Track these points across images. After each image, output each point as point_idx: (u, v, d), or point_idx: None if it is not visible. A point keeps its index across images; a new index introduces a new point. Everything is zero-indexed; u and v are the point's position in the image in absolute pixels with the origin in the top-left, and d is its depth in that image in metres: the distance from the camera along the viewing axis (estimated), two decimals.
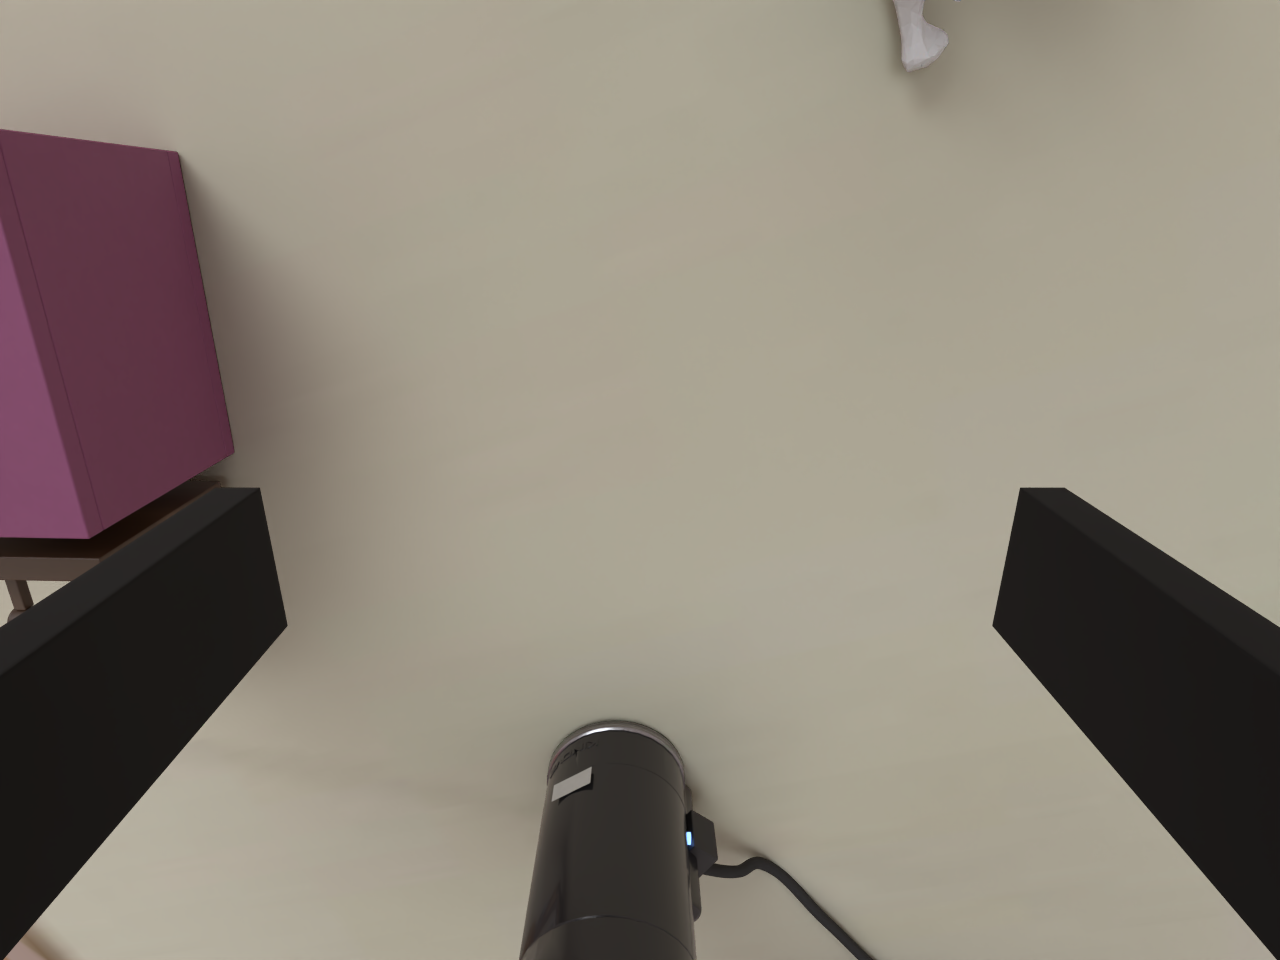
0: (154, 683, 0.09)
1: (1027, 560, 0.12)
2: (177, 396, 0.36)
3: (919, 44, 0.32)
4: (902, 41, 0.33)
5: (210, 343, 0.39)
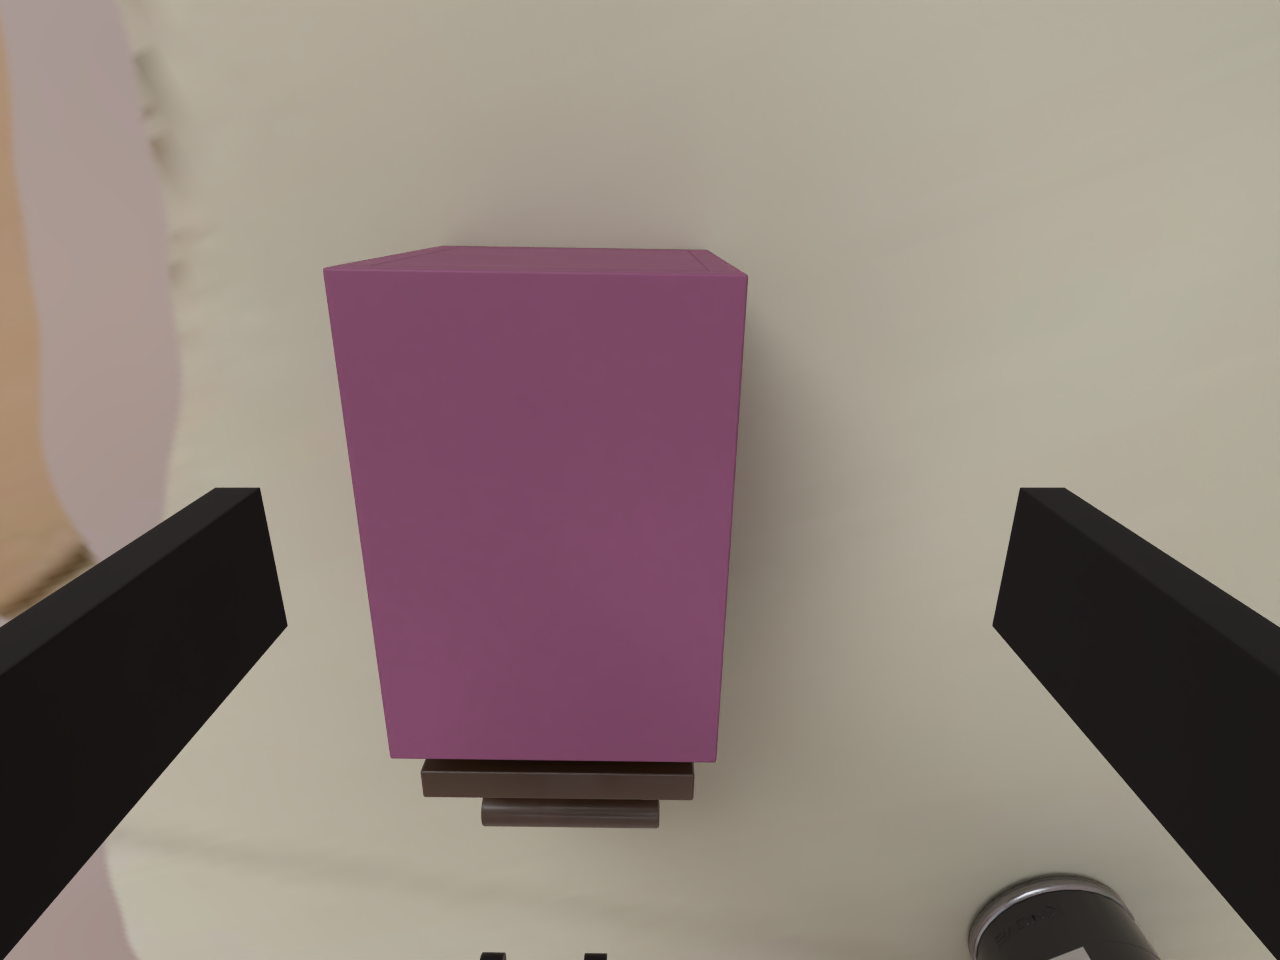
0: (154, 683, 0.09)
1: (1027, 561, 0.12)
2: None
3: None
4: None
5: None
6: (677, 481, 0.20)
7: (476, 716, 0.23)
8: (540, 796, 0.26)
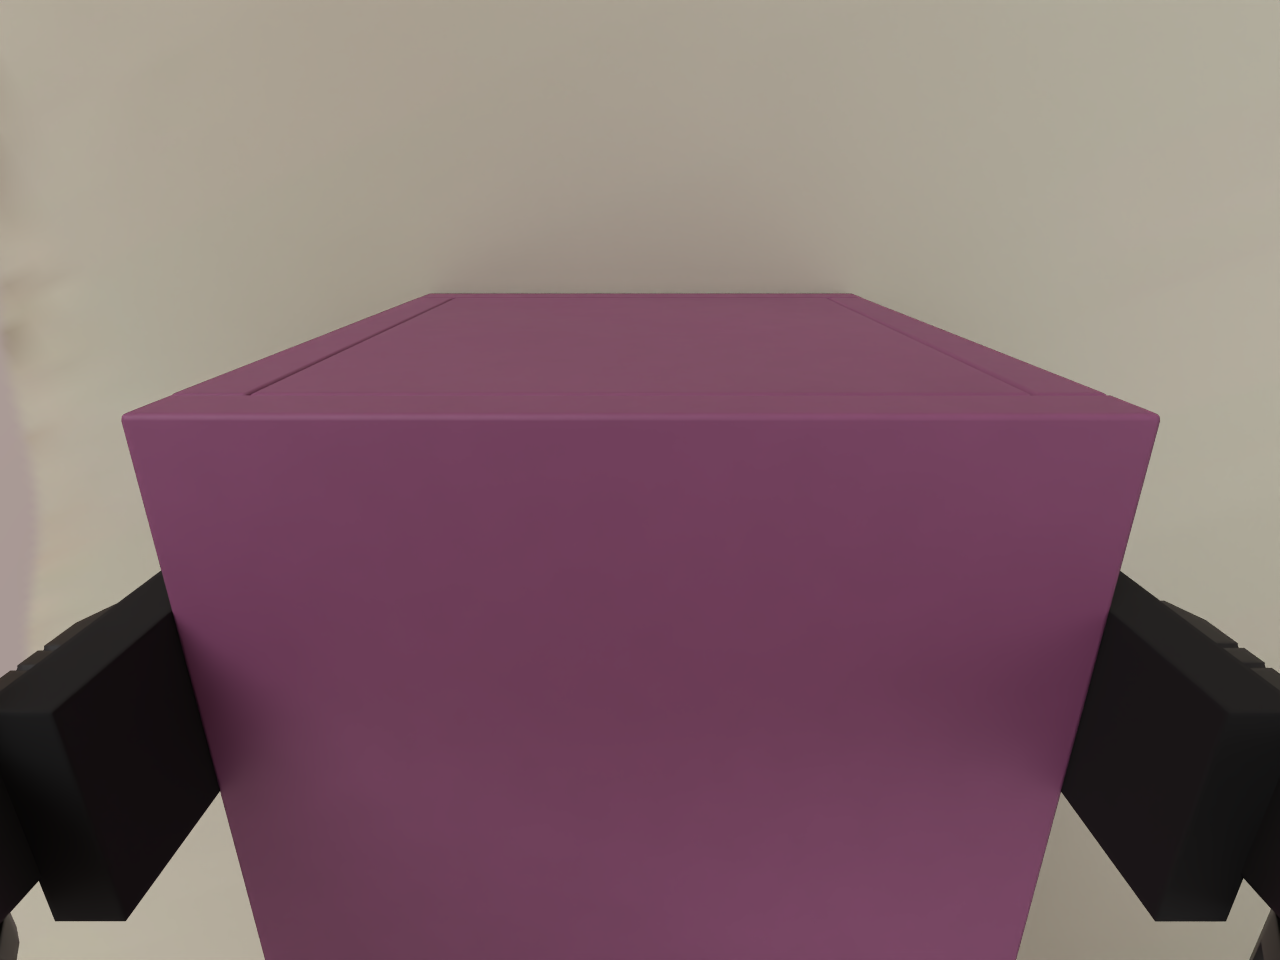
0: None
1: None
2: None
3: None
4: None
5: None
6: (929, 832, 0.09)
7: None
8: None
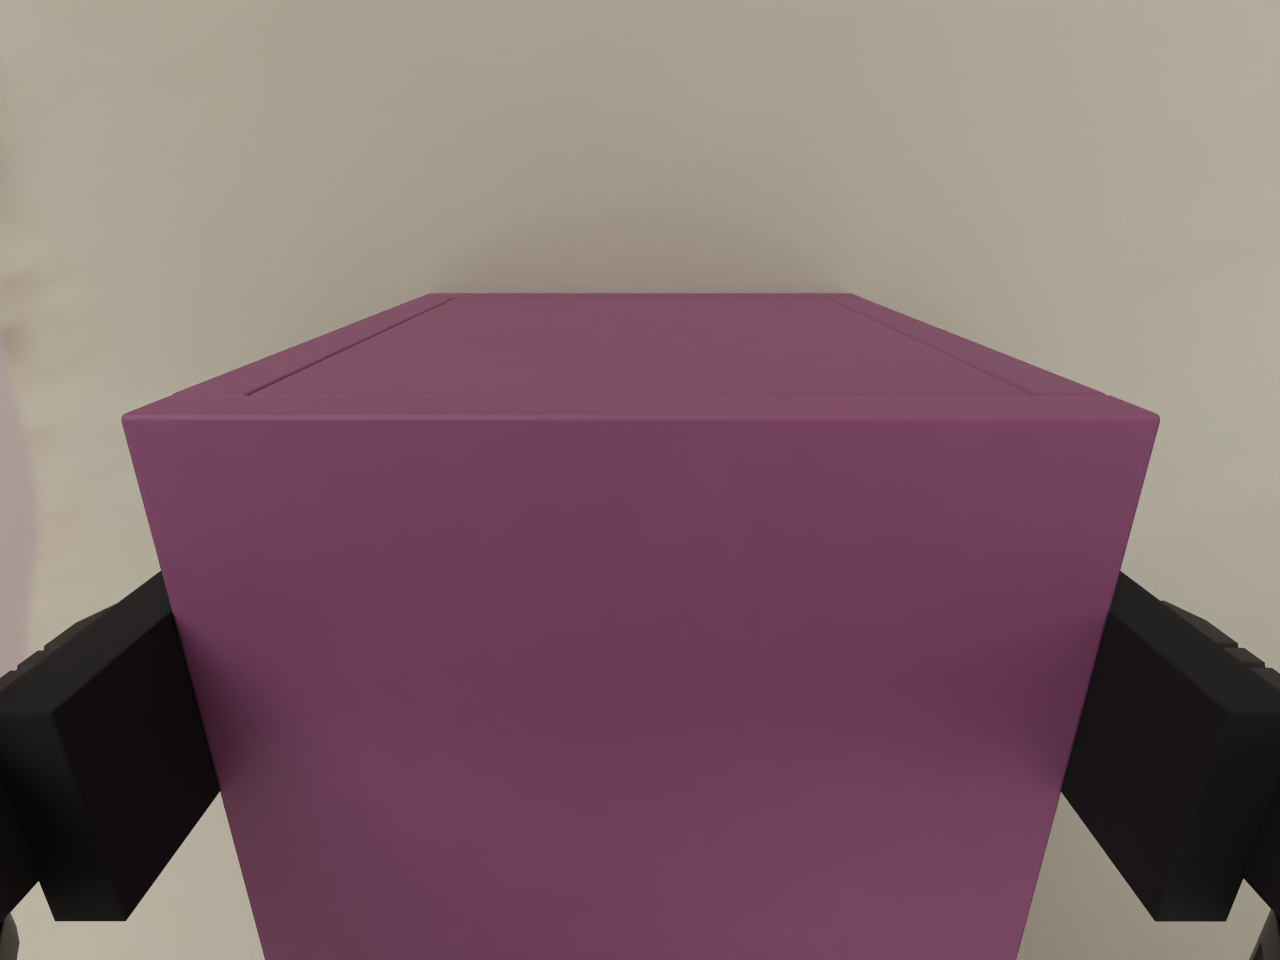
0: None
1: None
2: None
3: None
4: None
5: None
6: (929, 831, 0.09)
7: None
8: None
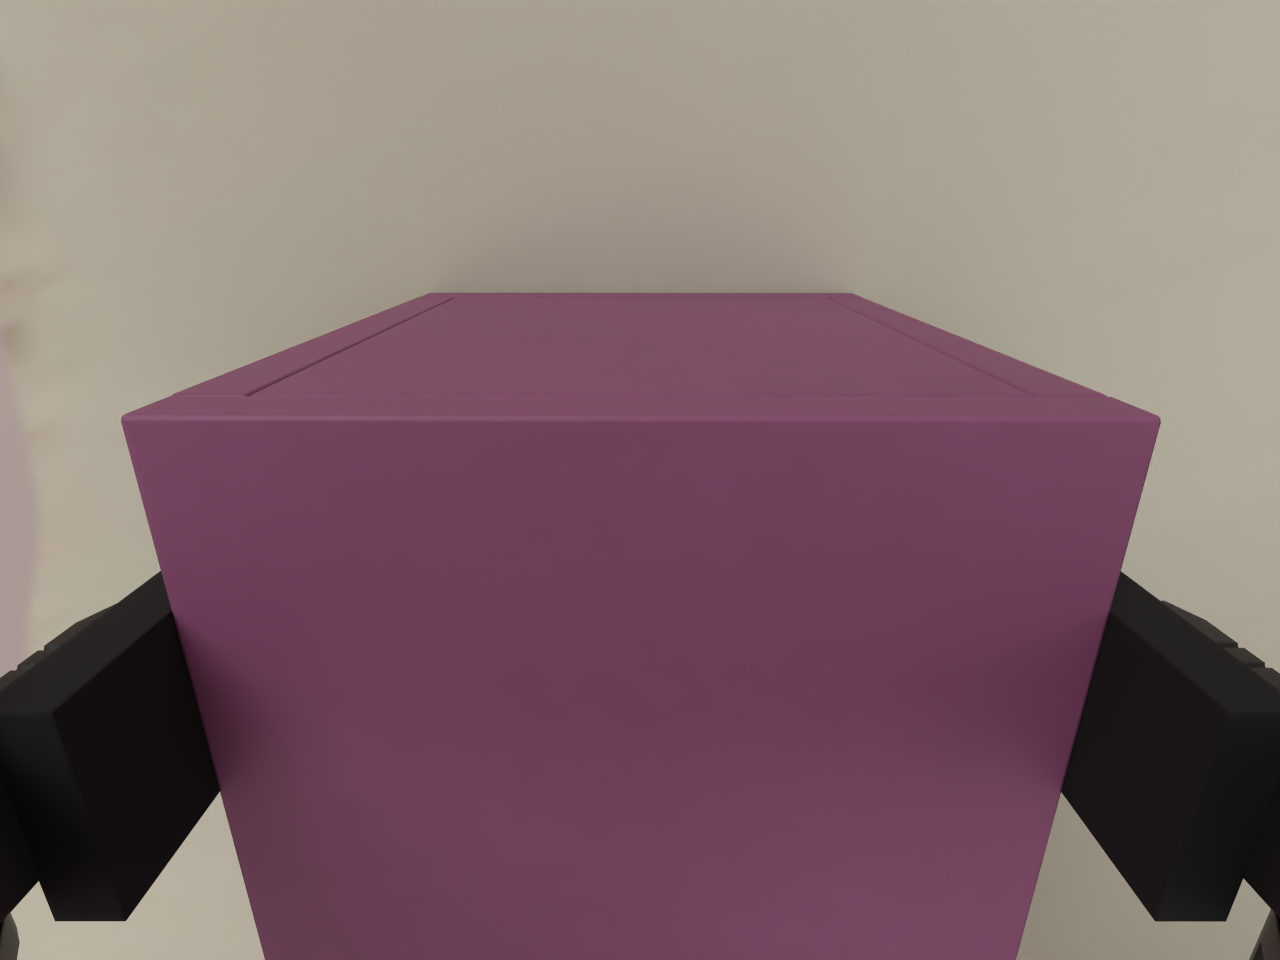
0: None
1: None
2: None
3: None
4: None
5: None
6: (928, 833, 0.09)
7: None
8: None
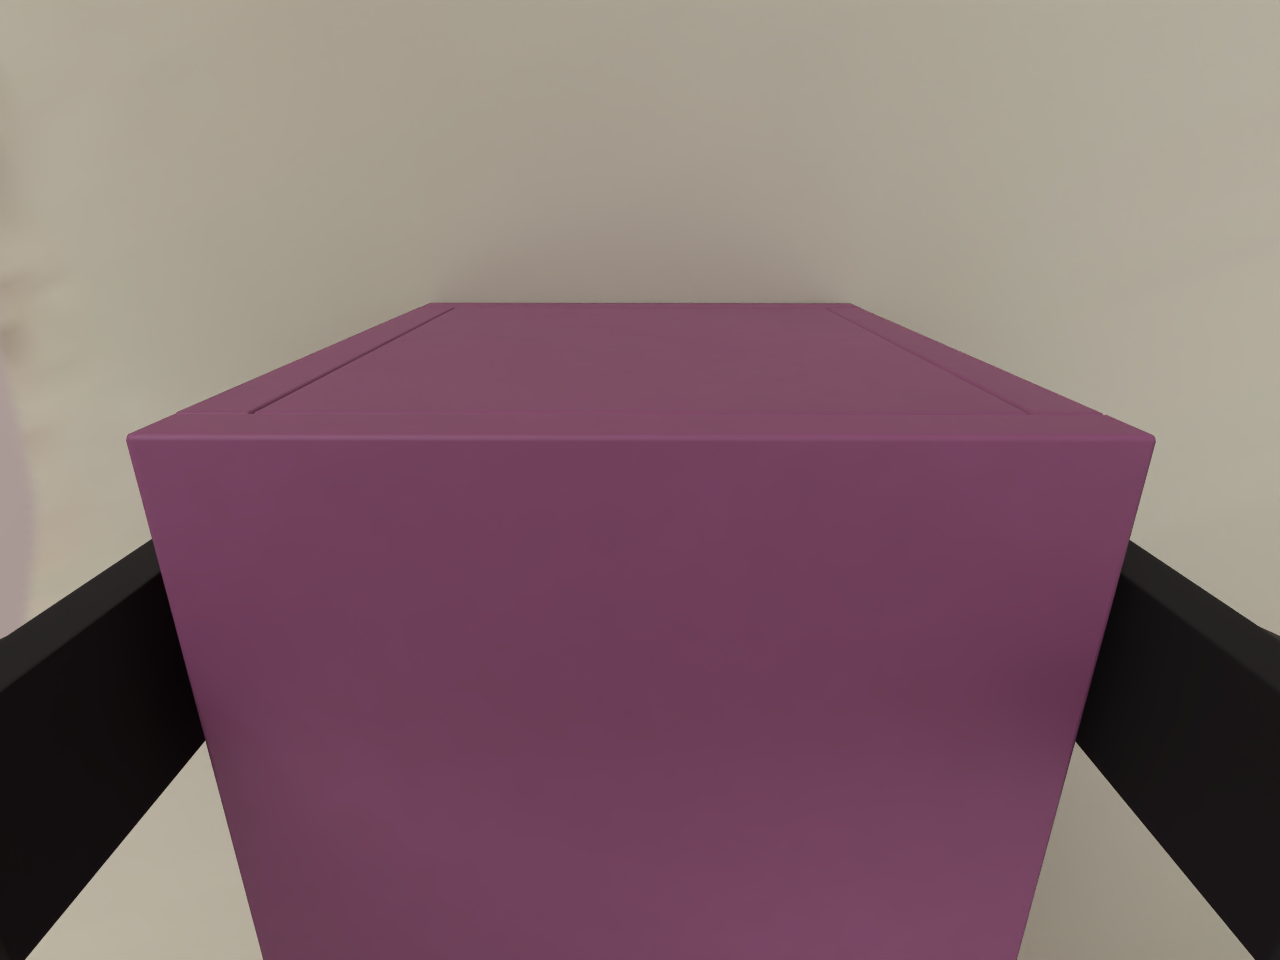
0: (179, 675, 0.10)
1: None
2: None
3: None
4: None
5: None
6: (927, 846, 0.10)
7: None
8: None
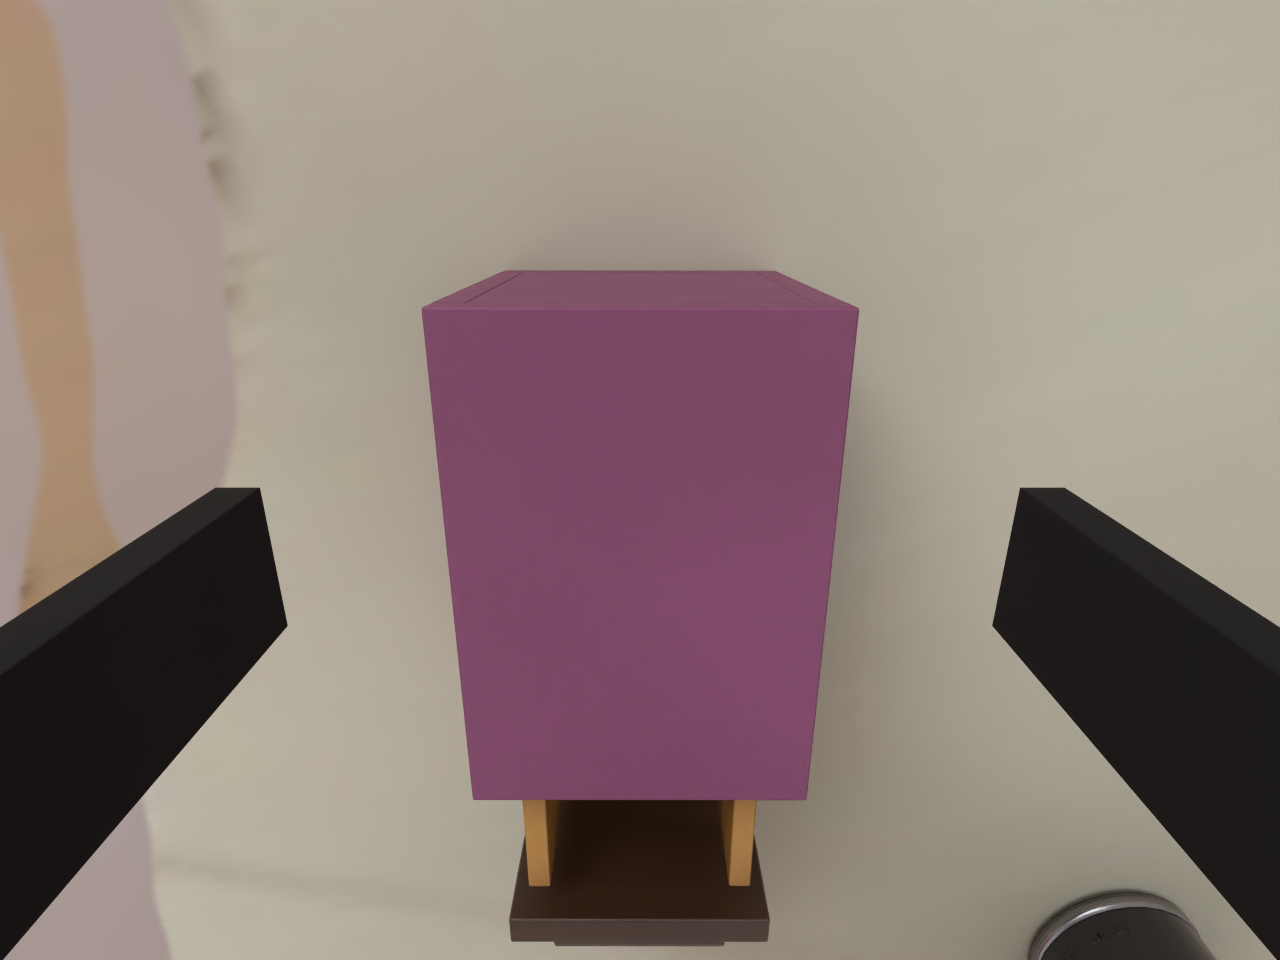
0: (154, 683, 0.09)
1: (1026, 561, 0.12)
2: None
3: None
4: None
5: None
6: (778, 518, 0.20)
7: (562, 757, 0.23)
8: (622, 940, 0.27)
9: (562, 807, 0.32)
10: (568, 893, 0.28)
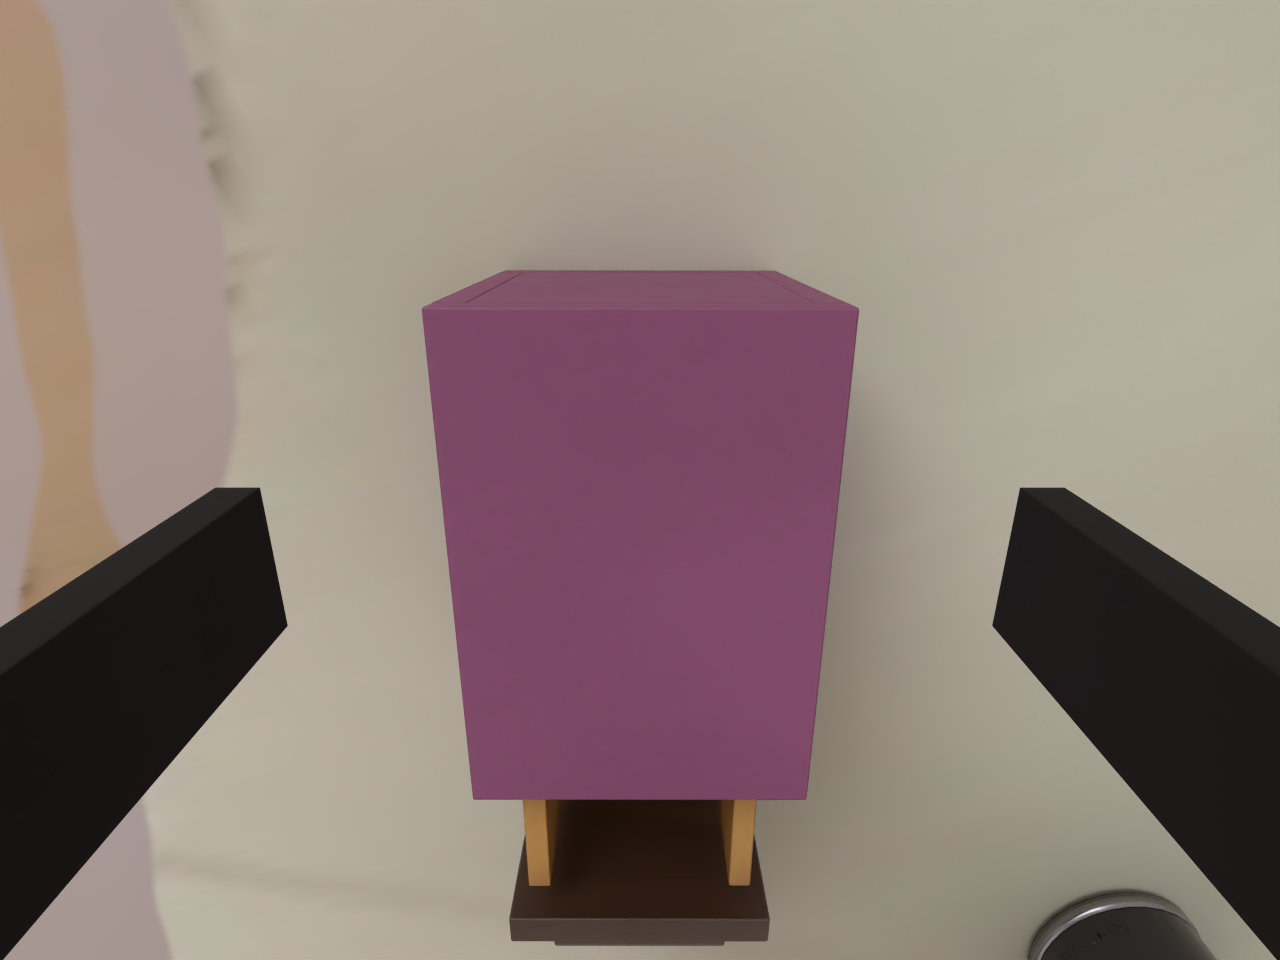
0: (154, 683, 0.09)
1: (1027, 561, 0.12)
2: None
3: None
4: None
5: None
6: (777, 518, 0.20)
7: (563, 756, 0.23)
8: (622, 939, 0.27)
9: (562, 807, 0.32)
10: (568, 893, 0.28)
